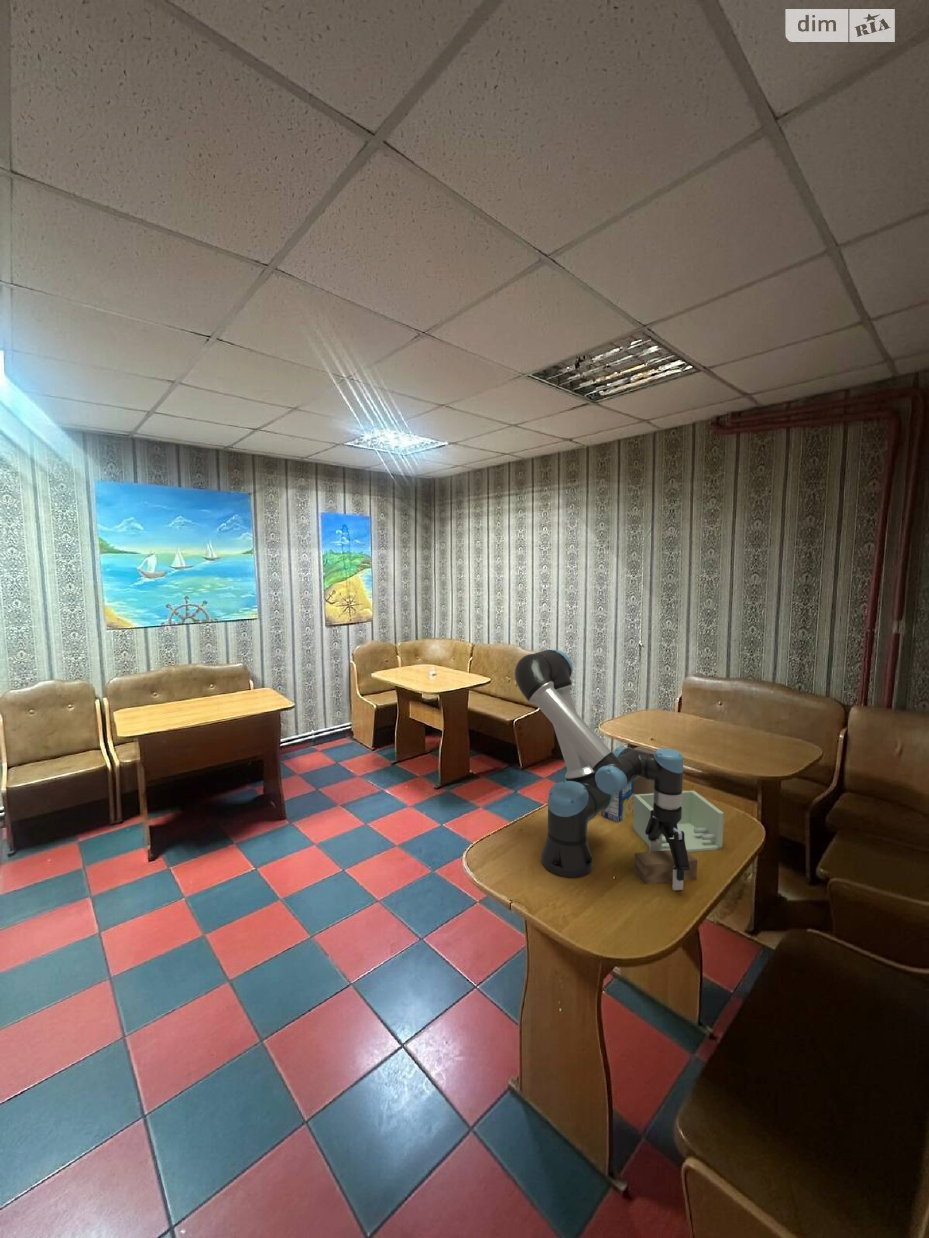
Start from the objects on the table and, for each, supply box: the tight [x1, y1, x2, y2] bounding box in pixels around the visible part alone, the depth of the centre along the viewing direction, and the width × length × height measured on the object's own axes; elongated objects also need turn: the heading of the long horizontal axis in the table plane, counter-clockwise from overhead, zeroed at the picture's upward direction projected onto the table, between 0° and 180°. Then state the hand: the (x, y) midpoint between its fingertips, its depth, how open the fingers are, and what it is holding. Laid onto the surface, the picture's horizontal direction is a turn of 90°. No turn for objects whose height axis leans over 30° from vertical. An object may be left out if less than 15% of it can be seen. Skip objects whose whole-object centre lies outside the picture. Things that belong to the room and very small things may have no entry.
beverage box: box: [600, 750, 634, 824], centre depth 178 cm, size 7×11×22 cm, turn 134°
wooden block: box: [633, 746, 656, 795], centre depth 187 cm, size 10×10×20 cm
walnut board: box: [633, 850, 698, 885], centre depth 143 cm, size 16×6×6 cm, turn 98°
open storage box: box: [632, 790, 725, 853], centre depth 163 cm, size 22×16×12 cm
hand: (665, 874), depth 144 cm, fingers open, 12 cm apart
